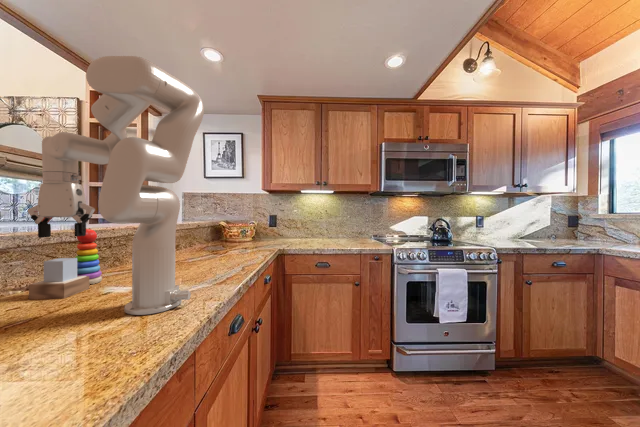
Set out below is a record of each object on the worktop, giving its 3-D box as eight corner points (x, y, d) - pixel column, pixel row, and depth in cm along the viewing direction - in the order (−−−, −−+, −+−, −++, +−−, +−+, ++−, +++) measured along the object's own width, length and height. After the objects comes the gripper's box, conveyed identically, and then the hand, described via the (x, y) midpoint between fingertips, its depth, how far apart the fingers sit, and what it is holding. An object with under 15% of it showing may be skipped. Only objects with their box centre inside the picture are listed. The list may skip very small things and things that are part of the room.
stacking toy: (63, 286, 84) (63, 229, 83) (89, 279, 91) (89, 228, 91) (83, 287, 82) (83, 230, 82) (108, 280, 90) (108, 228, 90)
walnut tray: (89, 288, 81) (89, 275, 81) (64, 298, 72) (64, 283, 72) (58, 289, 80) (58, 276, 80) (28, 299, 71) (28, 284, 71)
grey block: (77, 277, 79) (77, 258, 79) (62, 281, 74) (62, 261, 74) (59, 277, 78) (59, 258, 78) (43, 282, 73) (43, 261, 73)
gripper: (102, 181, 80) (103, 234, 80) (41, 181, 78) (42, 236, 78) (82, 177, 73) (84, 236, 73) (15, 178, 71) (16, 239, 71)
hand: (62, 236), depth 76 cm, fingers open, 9 cm apart
